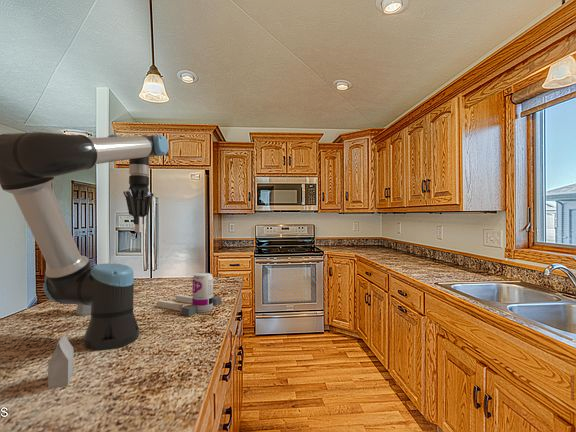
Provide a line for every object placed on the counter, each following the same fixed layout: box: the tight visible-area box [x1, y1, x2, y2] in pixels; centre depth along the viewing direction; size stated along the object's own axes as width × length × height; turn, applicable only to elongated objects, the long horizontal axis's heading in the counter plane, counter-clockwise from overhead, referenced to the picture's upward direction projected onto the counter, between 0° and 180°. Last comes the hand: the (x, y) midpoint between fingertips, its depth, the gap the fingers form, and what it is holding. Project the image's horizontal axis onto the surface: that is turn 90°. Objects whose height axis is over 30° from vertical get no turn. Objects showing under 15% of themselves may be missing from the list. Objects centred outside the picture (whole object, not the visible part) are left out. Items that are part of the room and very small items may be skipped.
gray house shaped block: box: [47, 333, 75, 391], centre depth 73 cm, size 4×7×10 cm, turn 26°
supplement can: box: [191, 272, 214, 314], centre depth 128 cm, size 8×8×15 cm
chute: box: [156, 294, 222, 317], centre depth 134 cm, size 20×22×3 cm
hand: (138, 232), depth 128 cm, fingers closed
